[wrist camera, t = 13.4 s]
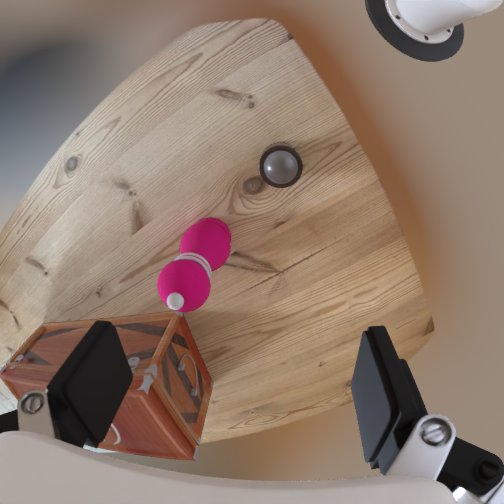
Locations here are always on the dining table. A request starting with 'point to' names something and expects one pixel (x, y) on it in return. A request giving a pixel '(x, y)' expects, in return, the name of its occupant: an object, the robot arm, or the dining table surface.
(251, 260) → the dining table surface
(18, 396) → the wooden box
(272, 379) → the dining table surface
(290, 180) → the salt shaker
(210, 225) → the pepper mill
